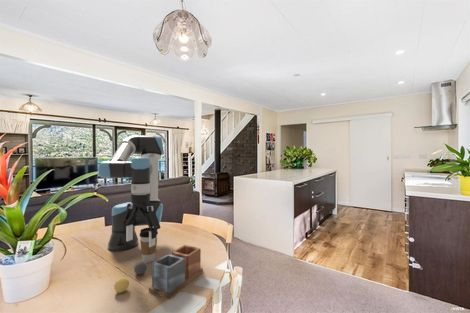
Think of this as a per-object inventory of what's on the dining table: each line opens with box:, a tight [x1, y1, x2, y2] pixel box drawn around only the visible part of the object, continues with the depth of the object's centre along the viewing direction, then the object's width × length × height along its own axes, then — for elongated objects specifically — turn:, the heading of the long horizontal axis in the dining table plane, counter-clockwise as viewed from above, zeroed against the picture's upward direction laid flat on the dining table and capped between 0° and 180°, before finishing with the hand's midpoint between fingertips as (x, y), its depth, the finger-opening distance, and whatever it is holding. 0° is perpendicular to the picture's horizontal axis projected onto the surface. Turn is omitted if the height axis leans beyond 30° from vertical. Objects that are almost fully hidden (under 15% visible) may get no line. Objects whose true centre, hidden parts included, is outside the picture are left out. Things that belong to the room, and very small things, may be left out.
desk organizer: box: [148, 244, 204, 300], centre depth 92 cm, size 10×21×10 cm, turn 154°
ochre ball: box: [113, 276, 130, 294], centre depth 85 cm, size 5×5×5 cm
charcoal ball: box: [133, 261, 148, 275], centre depth 97 cm, size 5×5×5 cm
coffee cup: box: [139, 227, 159, 264], centre depth 110 cm, size 8×8×15 cm
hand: (140, 243), depth 97 cm, fingers open, 13 cm apart
